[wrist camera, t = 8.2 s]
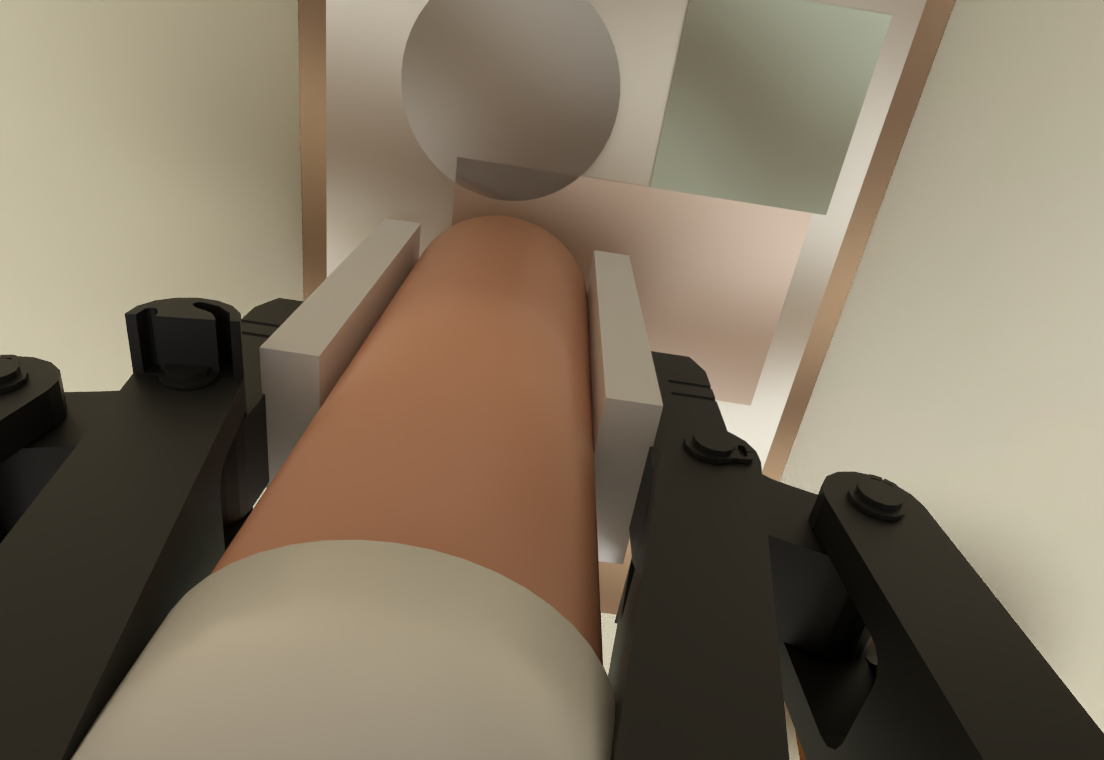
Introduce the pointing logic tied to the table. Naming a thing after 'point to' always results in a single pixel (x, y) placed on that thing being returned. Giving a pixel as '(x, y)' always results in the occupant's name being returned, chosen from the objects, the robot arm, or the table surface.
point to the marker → (409, 546)
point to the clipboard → (631, 158)
